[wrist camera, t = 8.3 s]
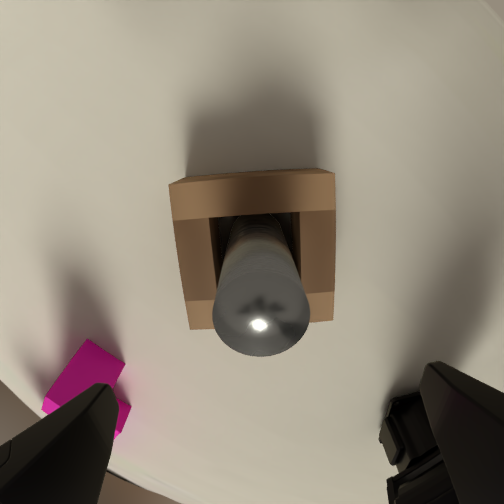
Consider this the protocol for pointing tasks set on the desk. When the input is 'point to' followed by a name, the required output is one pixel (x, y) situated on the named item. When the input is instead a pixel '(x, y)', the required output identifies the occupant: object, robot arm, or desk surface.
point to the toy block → (87, 379)
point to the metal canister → (259, 290)
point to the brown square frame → (247, 203)
